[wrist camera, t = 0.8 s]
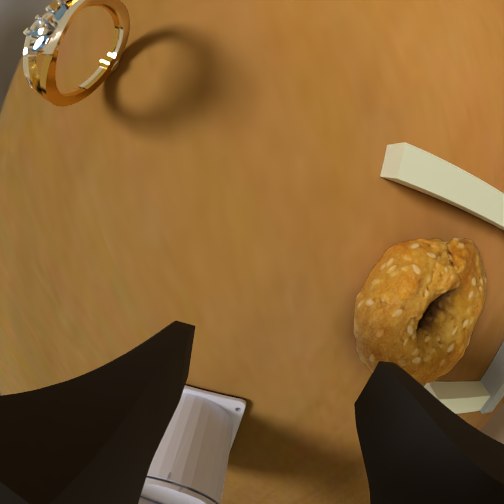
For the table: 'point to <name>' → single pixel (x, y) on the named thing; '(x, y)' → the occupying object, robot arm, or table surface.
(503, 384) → the guide
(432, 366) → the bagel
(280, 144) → the table surface
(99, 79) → the ring
